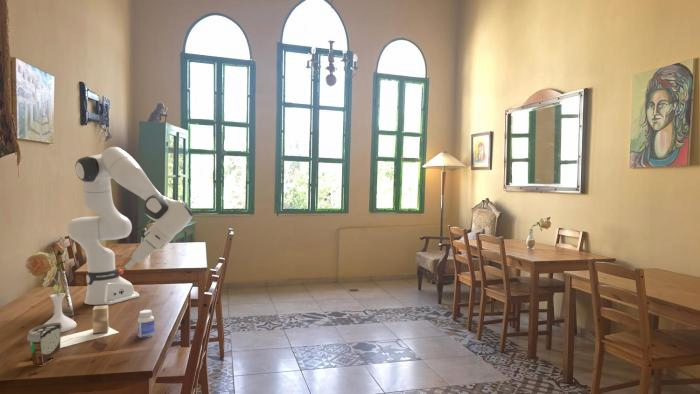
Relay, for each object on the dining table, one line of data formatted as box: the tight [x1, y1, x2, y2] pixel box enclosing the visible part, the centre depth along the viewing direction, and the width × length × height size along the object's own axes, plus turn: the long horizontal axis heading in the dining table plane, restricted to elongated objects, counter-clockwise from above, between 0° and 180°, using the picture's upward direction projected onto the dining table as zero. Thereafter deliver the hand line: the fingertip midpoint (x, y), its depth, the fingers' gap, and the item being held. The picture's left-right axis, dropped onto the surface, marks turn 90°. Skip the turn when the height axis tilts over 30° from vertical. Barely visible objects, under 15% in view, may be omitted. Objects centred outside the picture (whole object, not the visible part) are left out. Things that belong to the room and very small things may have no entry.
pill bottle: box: [137, 309, 156, 339], centre depth 160 cm, size 5×5×10 cm
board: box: [60, 326, 120, 349], centre depth 158 cm, size 20×11×1 cm, turn 141°
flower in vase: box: [41, 265, 78, 333], centre depth 165 cm, size 13×11×25 cm
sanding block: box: [92, 304, 110, 335], centre depth 162 cm, size 4×4×9 cm
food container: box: [26, 322, 62, 366], centre depth 141 cm, size 12×6×10 cm, turn 5°
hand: (128, 265), depth 165 cm, fingers open, 8 cm apart
